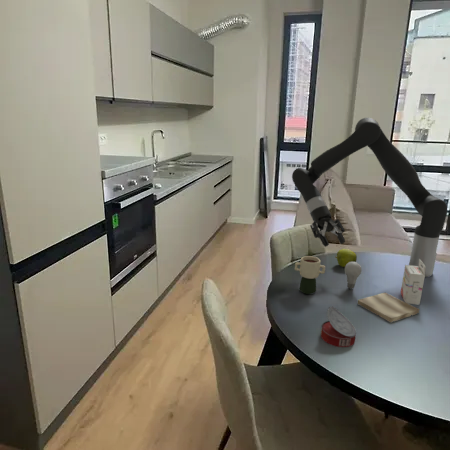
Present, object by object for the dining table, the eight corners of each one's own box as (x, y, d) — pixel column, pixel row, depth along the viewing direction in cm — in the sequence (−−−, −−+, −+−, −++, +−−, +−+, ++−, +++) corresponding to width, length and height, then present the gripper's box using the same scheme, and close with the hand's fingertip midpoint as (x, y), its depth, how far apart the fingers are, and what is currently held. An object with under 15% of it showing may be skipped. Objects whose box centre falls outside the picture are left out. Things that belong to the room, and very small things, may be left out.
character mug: (322, 289, 144) (326, 257, 140) (322, 298, 137) (326, 264, 134) (293, 285, 146) (296, 254, 143) (292, 293, 140) (294, 260, 136)
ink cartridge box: (399, 293, 143) (405, 256, 139) (413, 294, 142) (420, 258, 138) (405, 303, 135) (412, 265, 131) (420, 305, 134) (427, 266, 130)
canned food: (335, 341, 119) (349, 313, 119) (355, 357, 109) (371, 326, 109) (307, 330, 115) (322, 301, 115) (326, 346, 105) (342, 314, 105)
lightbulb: (358, 287, 147) (362, 260, 144) (358, 293, 142) (362, 266, 139) (342, 284, 149) (345, 258, 146) (341, 290, 144) (345, 263, 141)
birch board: (384, 296, 140) (385, 292, 140) (418, 313, 128) (419, 309, 128) (357, 303, 134) (357, 299, 133) (390, 322, 122) (391, 318, 122)
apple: (331, 263, 171) (333, 246, 169) (350, 263, 172) (352, 246, 170) (338, 270, 163) (340, 252, 161) (358, 269, 164) (360, 252, 162)
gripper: (309, 206, 151) (327, 242, 144) (336, 203, 157) (354, 237, 151) (300, 216, 156) (316, 251, 150) (326, 213, 163) (342, 246, 156)
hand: (335, 244), depth 150 cm, fingers open, 8 cm apart
